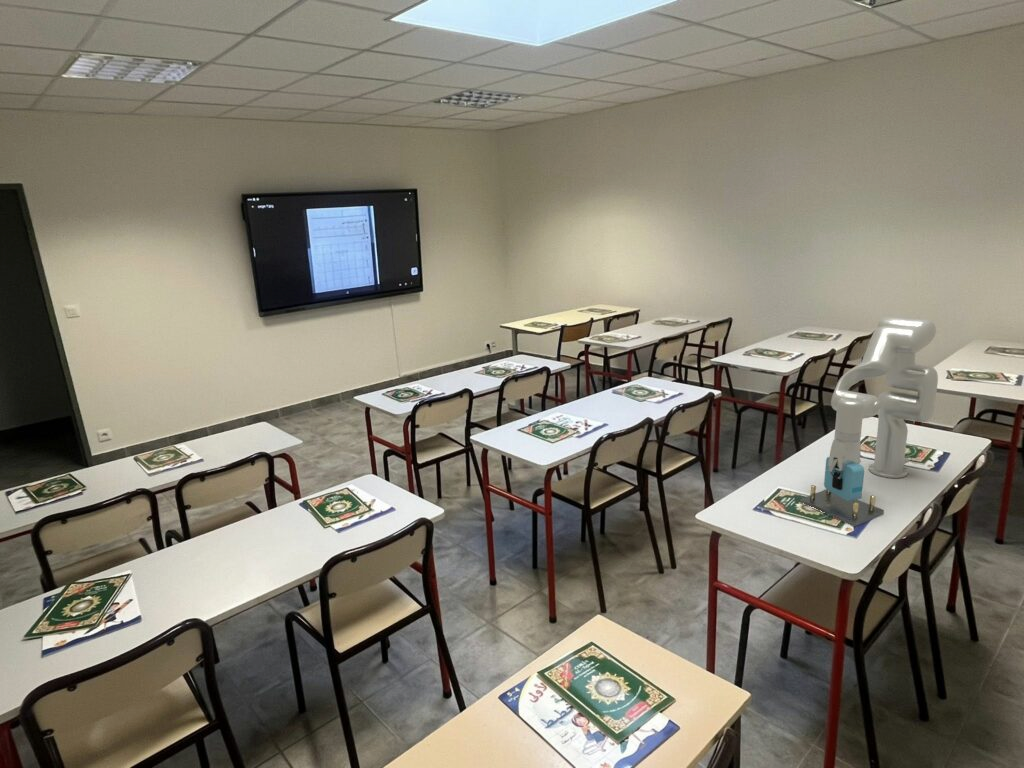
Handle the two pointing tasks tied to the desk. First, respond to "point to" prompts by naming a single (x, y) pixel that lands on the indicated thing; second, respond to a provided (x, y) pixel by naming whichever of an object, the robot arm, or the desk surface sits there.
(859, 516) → the plate
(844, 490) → the data package
